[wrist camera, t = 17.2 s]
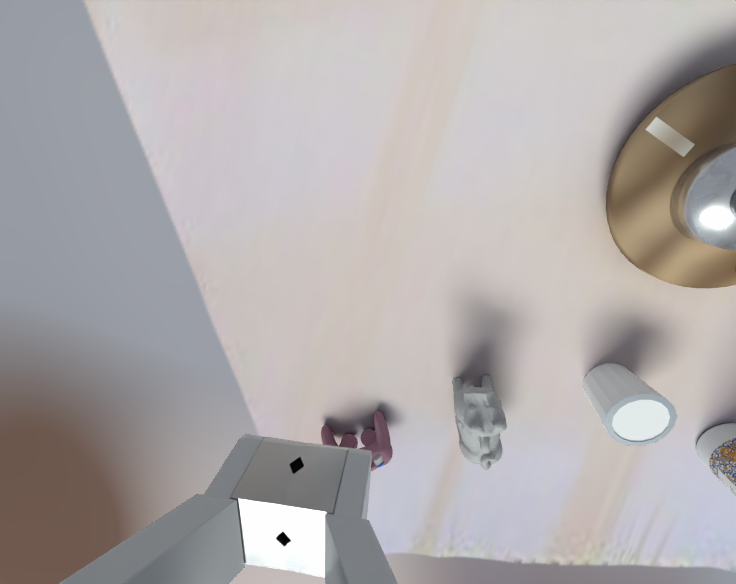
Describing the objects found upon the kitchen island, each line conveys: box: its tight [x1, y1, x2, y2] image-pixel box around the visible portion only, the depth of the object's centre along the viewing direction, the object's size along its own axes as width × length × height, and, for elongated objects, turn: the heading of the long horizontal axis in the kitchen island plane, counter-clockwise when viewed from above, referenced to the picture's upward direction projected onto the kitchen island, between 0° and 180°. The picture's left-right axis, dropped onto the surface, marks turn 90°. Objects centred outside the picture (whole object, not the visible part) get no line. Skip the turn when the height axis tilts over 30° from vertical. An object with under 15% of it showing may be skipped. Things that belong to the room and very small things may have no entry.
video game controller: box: [321, 410, 392, 471], centre depth 49 cm, size 10×5×7 cm, turn 113°
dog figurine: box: [452, 375, 507, 470], centre depth 41 cm, size 5×13×11 cm, turn 10°
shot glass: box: [583, 363, 677, 446], centre depth 40 cm, size 7×7×7 cm
